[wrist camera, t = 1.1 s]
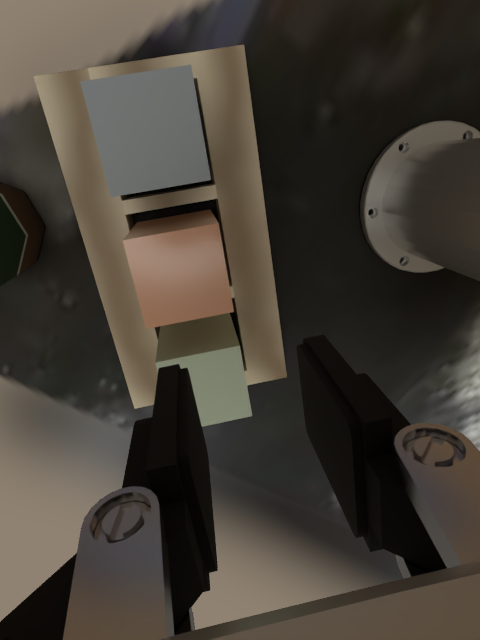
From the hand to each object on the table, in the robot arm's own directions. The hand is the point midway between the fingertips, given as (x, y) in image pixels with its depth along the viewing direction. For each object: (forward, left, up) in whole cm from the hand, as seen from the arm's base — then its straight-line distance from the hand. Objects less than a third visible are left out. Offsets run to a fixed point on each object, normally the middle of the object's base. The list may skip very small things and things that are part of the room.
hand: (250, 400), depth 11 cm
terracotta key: (+2, 0, -22) cm, 22 cm away
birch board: (+2, 0, -25) cm, 25 cm away
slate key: (+2, -8, -22) cm, 24 cm away
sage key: (+2, +8, -22) cm, 24 cm away
